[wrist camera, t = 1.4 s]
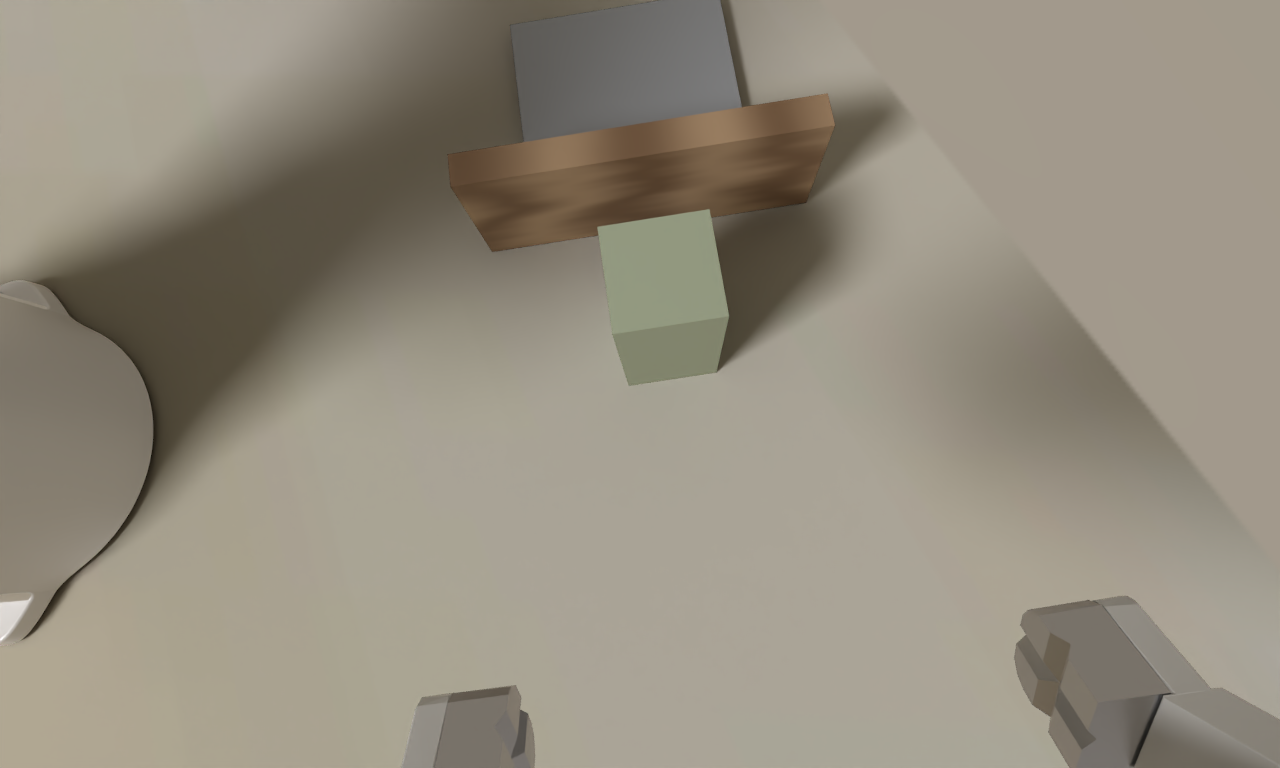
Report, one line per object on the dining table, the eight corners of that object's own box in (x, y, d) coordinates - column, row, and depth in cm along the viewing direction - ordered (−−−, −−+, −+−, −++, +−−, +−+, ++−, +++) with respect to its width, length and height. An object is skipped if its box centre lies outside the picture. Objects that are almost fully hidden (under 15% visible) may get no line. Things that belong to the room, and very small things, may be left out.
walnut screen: (492, 251, 37) (450, 186, 30) (489, 224, 37) (447, 154, 31) (805, 202, 37) (835, 125, 30) (799, 175, 37) (827, 93, 30)
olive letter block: (628, 385, 35) (612, 334, 26) (616, 299, 36) (596, 222, 27) (716, 372, 35) (729, 316, 26) (701, 286, 36) (708, 204, 27)
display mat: (529, 173, 38) (526, 165, 37) (513, 34, 40) (509, 24, 39) (745, 138, 38) (746, 130, 37) (717, 1, 40) (718, -10, 39)
